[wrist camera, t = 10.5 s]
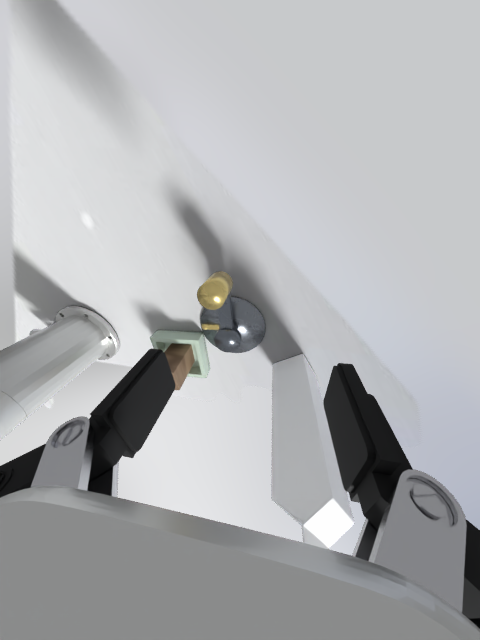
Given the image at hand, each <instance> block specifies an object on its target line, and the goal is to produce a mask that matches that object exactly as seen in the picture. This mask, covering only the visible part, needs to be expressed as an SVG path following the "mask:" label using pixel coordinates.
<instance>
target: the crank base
mask: <svg viewBox="0 0 480 640" xmlns="http://www.w3.org/2000/svg"><path fill="white" fill-rule="evenodd" d="M231 301H232V313H233V325H234V328H236V329H237V330H238V331H239V332H240V333H241V337H242V338H241V343H240V346H239V348H238V349H237V350H236V351H234V352H232V353H242V352H246V351H249V350H251V349H253V348H255V347H256V346H257V345H258V344H259V343H260V342H261V341H262V339H263V337H264V333H265V322H264V319H263V316H262V314H261V313H260V311H259V310H258V309H257V308H256V307H255V306H254V305H253V304H252V303H250V302H248V301H247V300H244V299H242V298H238V297H231ZM201 328H202V331H203V333H204V335H205V337H206V338H207V339H208V340H209V341H210V342H211V343H212V344H213V345H214V346H216V345H215V343H214V337H215V335H216V333H217V331H218V329H219V328H220V323H219V315H218V309H216V310H210V309H207V308H205V309H204V311H203V313H202V316H201ZM216 347H217V346H216Z"/></svg>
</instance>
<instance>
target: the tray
mask: <svg viewBox="0 0 480 640" xmlns="http://www.w3.org/2000/svg"><path fill="white" fill-rule="evenodd" d="M150 339H151V342H152V345H153V347H154V349H161V350H162V351H163V352H165V351H166V350H167V348H168V347H169V346H170V344H171V343H175V344H190V345H192V350H193V354H194V359H195V362H194V364H193V365H192V367H191V369H190V371H189V373H188V375H187V376H188V377H199V378H207V375H208V373H209V370H210V365H209V360H208V355H207V349H206V344H205V339H204V333H203V332H188V331H167V330H157V331H156V332H155V333H154V334H153V335H152V336H151V337H150Z"/></svg>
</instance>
